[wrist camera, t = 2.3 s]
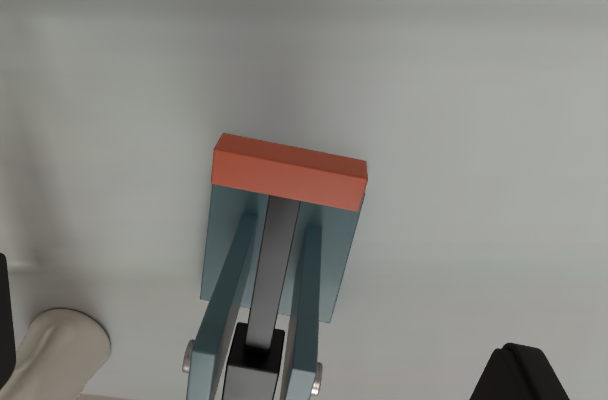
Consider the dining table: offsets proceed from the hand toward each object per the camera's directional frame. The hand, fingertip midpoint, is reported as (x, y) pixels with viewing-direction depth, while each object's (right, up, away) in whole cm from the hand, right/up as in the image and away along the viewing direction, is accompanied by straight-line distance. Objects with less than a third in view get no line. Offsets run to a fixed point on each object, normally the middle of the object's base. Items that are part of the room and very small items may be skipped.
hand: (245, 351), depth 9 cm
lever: (0, 0, +10) cm, 10 cm away
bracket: (0, 0, +22) cm, 22 cm away
